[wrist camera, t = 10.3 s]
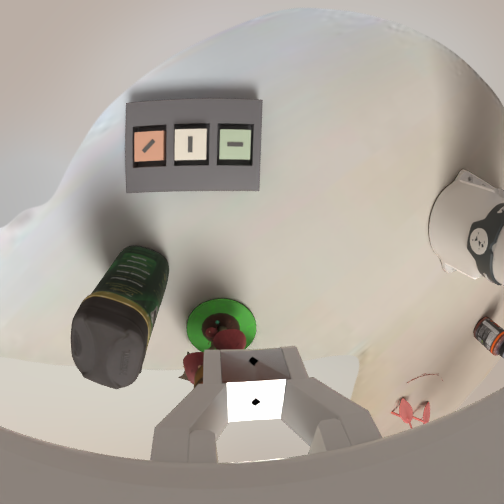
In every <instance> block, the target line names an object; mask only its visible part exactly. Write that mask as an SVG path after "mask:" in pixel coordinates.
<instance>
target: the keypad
mask: <svg viewBox="0 0 504 504" xmlns="http://www.w3.org/2000/svg"><path fill="white" fill-rule="evenodd" d="M261 128H262V100H255V99H224V98H202V99H171V100H155V101H142V102H132V103H126V129H125V161H126V192H127V193H139V192H168V191H259V184H260V156H261ZM175 129H207V159H206V160H175ZM220 129H234V130H251V144H250V160H244V159H219V150H220ZM147 131H167V136H166V160H158V161H139V162H135V159H134V136H135V132H147Z"/></svg>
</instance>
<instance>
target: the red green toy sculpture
mask: <svg viewBox="0 0 504 504" xmlns="http://www.w3.org/2000/svg"><path fill="white" fill-rule="evenodd" d="M187 334H188V337H189V339H190V341H191V343H192V344H193V345H194V346H195V347H196V348H197V349H198V350H200V351H201V352H195V353H189V352H187V355H186V356H185V358H184V359H183V364H184V366H183V367H184V368H185V371H184V374H183V375H182V376H181V377H179V378H182V379H185V380H188V381H190V382H191V383H192V384H194V388H195V387H196V386H197V385H198V384H203V364H204V350H236V349H246V348H247V347H248V346H249V345H250V344H251V342H252V341H253V339H254V337H255V334H256V322H255V319H254V316H253V315H252V313H251V312H250V310H249V309H248V308H247V307H245V306H244V305H243V304H241V303H239V302H237V301H234V300H230V299H213V300H209V301H206V302H204V303H202V304H200V305H199V306H197V307H196V308H195V309H194V310H193V311H192V313H191V314H190V316H189V319H188V322H187ZM220 359H221V358H220Z"/></svg>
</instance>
